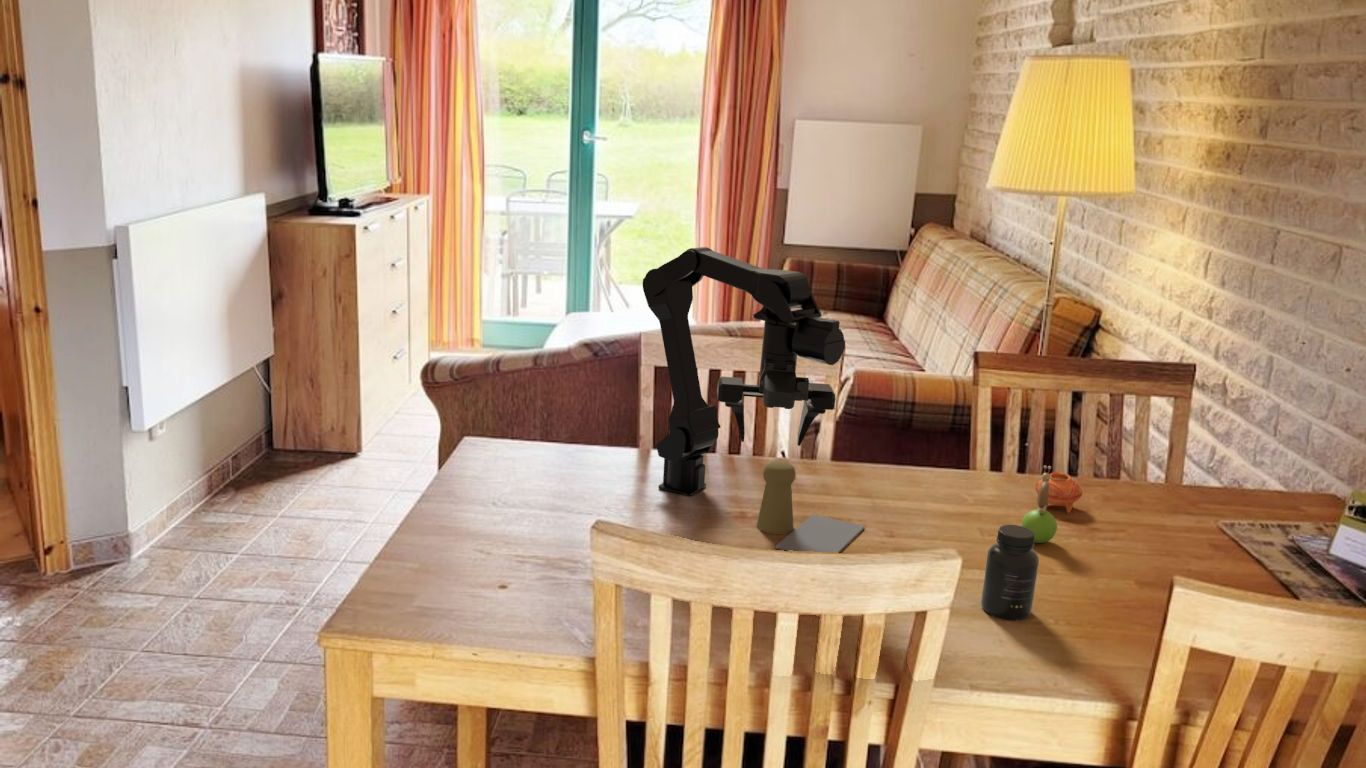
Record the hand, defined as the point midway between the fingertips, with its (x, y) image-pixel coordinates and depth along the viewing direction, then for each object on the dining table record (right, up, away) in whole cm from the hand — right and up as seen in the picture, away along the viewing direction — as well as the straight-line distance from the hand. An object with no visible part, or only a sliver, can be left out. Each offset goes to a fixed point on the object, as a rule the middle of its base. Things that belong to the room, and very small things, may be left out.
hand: (770, 443), depth 175 cm
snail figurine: (+44, -16, 0) cm, 46 cm away
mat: (+8, -15, -4) cm, 17 cm away
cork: (+1, -14, 0) cm, 14 cm away
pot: (+52, -12, +15) cm, 56 cm away
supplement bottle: (+31, -22, -25) cm, 46 cm away
